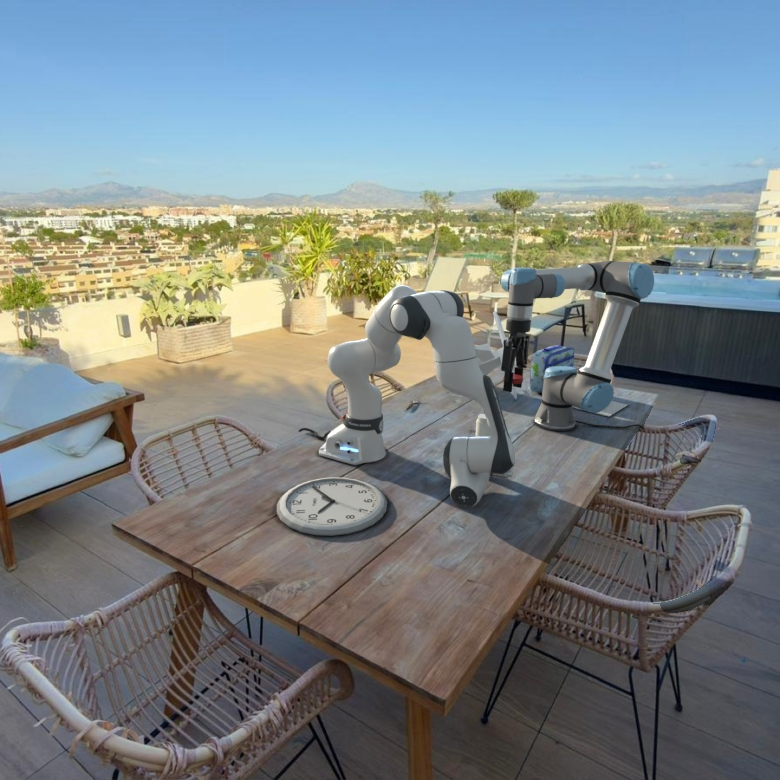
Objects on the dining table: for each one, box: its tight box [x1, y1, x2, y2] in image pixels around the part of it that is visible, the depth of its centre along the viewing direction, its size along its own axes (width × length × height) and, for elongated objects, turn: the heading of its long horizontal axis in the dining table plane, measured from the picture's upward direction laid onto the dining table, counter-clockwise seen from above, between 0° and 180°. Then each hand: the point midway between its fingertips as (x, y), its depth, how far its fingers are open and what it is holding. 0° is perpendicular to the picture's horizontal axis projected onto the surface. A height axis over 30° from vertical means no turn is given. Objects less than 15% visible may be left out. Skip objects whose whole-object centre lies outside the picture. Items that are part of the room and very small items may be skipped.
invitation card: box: [573, 400, 629, 418], centre depth 226 cm, size 21×1×15 cm
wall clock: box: [276, 476, 388, 537], centre depth 142 cm, size 30×2×30 cm
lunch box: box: [529, 345, 575, 394], centre depth 245 cm, size 26×11×21 cm, turn 134°
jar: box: [474, 413, 491, 437], centre depth 160 cm, size 5×5×19 cm
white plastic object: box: [475, 310, 531, 400], centre depth 245 cm, size 37×45×31 cm
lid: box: [502, 374, 523, 384], centre depth 169 cm, size 6×6×2 cm
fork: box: [406, 394, 421, 411], centre depth 223 cm, size 3×16×2 cm, turn 160°
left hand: (483, 453), depth 162 cm, fingers closed on jar, 5 cm apart
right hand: (512, 388), depth 170 cm, fingers closed on lid, 6 cm apart
